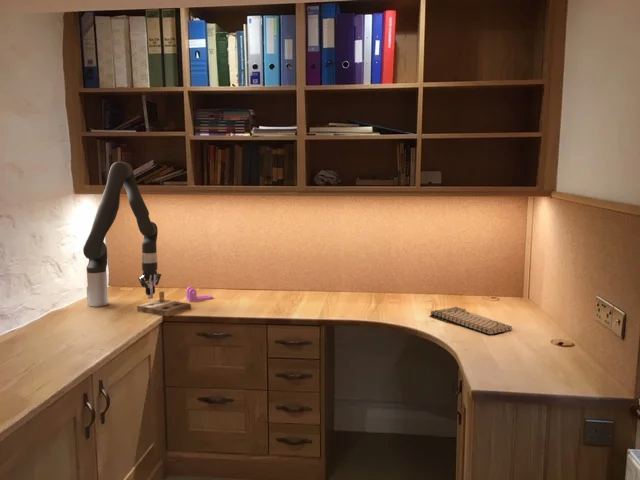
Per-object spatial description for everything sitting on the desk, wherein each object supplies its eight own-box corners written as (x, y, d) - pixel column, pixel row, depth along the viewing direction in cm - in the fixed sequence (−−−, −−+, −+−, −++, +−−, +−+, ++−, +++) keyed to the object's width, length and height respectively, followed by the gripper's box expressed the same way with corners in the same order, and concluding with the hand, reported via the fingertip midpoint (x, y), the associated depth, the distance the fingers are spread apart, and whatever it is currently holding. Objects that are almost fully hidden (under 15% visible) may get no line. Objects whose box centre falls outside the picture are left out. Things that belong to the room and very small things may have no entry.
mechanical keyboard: (518, 331, 233) (518, 323, 233) (488, 339, 223) (489, 331, 223) (453, 311, 265) (454, 305, 264) (425, 317, 255) (425, 310, 254)
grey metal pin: (147, 298, 274) (146, 281, 273) (150, 297, 277) (150, 280, 275) (150, 298, 273) (150, 281, 272) (153, 298, 275) (153, 280, 274)
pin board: (137, 311, 262) (136, 295, 261) (161, 303, 276) (161, 289, 275) (167, 316, 253) (166, 300, 251) (190, 308, 266) (190, 293, 265)
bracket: (189, 302, 280) (189, 289, 279) (186, 300, 285) (186, 287, 284) (213, 299, 286) (213, 286, 285) (210, 297, 291) (210, 284, 290)
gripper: (154, 258, 280) (155, 290, 282) (133, 262, 268) (134, 296, 270) (165, 260, 277) (165, 292, 279) (144, 263, 264) (145, 298, 267)
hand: (150, 294), depth 275 cm, fingers closed on grey metal pin, 2 cm apart
